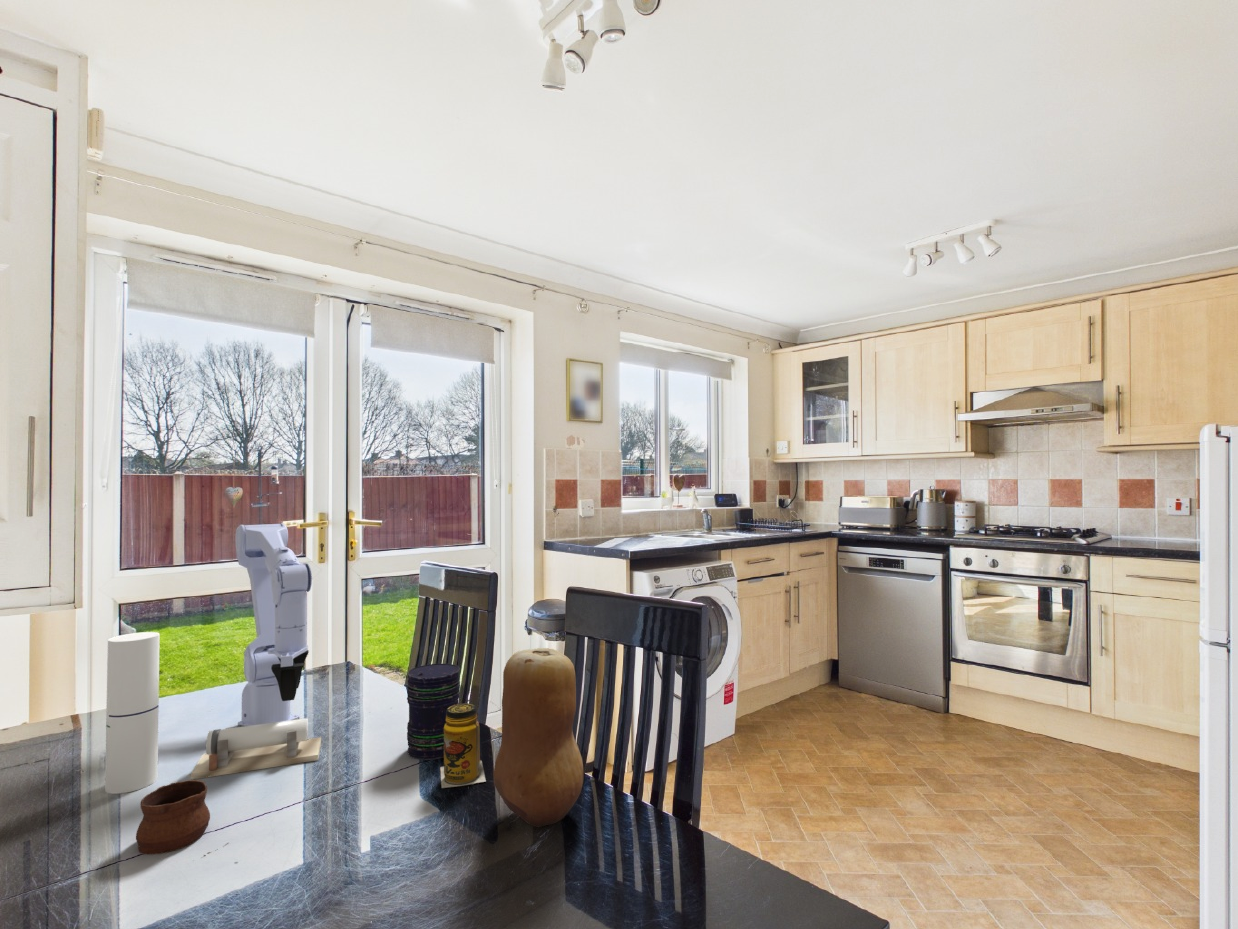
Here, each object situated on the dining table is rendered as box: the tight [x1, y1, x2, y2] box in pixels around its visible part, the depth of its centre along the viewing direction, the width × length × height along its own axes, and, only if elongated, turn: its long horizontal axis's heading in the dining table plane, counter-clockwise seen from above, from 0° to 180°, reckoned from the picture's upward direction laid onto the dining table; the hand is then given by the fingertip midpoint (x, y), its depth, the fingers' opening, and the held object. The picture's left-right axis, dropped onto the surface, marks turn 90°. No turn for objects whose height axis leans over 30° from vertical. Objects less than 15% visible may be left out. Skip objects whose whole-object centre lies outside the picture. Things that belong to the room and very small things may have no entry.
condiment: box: [439, 702, 487, 789], centre depth 111 cm, size 7×8×12 cm
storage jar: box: [406, 663, 461, 761], centre depth 122 cm, size 10×10×15 cm
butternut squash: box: [492, 647, 584, 828], centre depth 96 cm, size 14×13×25 cm
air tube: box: [205, 717, 309, 755], centre depth 117 cm, size 16×4×4 cm, turn 112°
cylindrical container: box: [104, 631, 161, 795], centre depth 109 cm, size 7×7×25 cm
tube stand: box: [190, 718, 322, 780], centre depth 117 cm, size 20×9×6 cm, turn 112°
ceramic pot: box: [135, 779, 229, 862], centre depth 91 cm, size 18×18×7 cm
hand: (290, 694), depth 126 cm, fingers open, 7 cm apart
